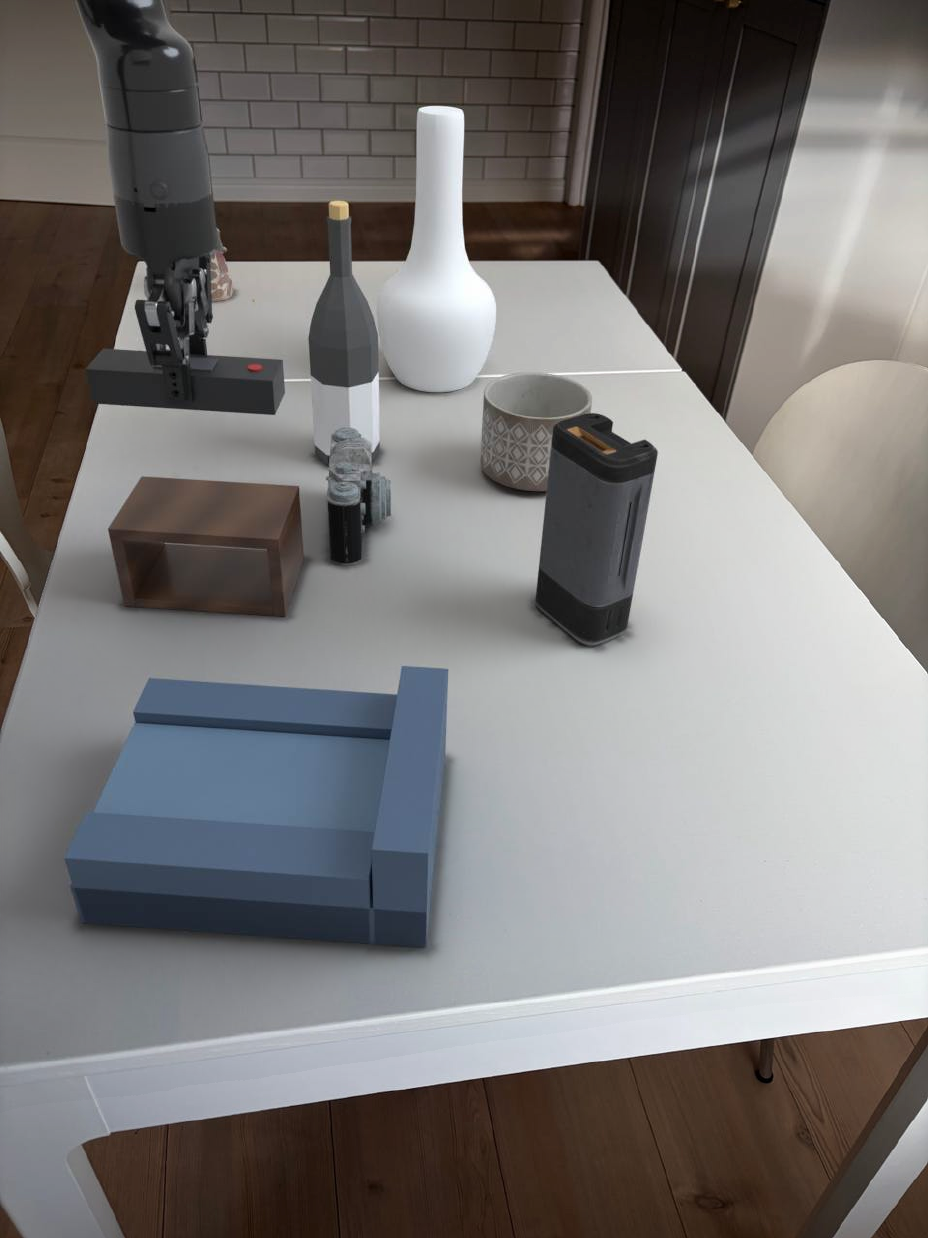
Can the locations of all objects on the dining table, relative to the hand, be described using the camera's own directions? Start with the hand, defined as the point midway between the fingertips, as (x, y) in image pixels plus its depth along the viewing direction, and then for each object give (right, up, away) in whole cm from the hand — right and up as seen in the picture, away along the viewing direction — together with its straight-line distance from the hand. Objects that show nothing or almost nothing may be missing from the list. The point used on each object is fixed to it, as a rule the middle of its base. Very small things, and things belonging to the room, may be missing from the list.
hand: (189, 390), depth 87 cm
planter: (+33, -2, +35) cm, 48 cm away
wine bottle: (+10, 0, +37) cm, 38 cm away
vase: (+20, +15, +57) cm, 62 cm away
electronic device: (+36, -20, +12) cm, 43 cm away
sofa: (+10, -37, -12) cm, 40 cm away
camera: (+13, -10, +23) cm, 28 cm away
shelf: (-1, -16, +14) cm, 22 cm away
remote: (0, -1, 0) cm, 1 cm away
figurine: (-18, +34, +80) cm, 89 cm away
